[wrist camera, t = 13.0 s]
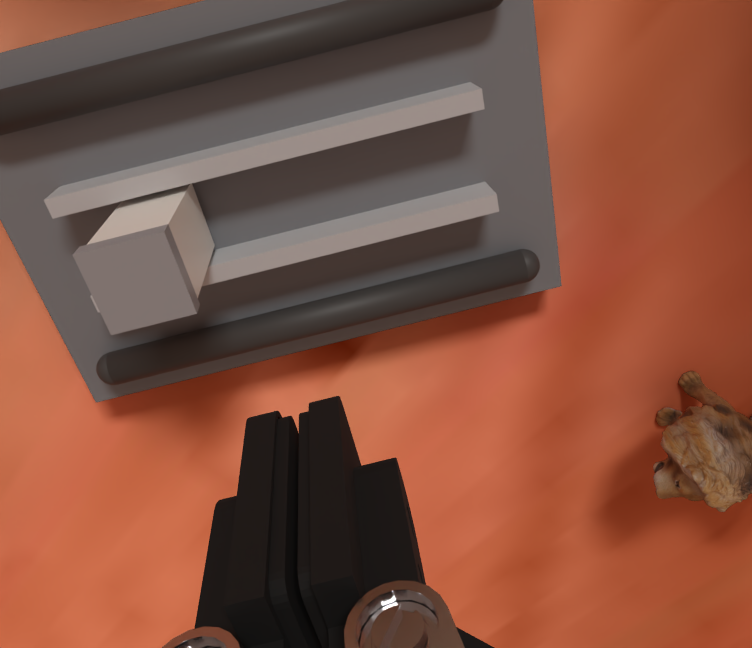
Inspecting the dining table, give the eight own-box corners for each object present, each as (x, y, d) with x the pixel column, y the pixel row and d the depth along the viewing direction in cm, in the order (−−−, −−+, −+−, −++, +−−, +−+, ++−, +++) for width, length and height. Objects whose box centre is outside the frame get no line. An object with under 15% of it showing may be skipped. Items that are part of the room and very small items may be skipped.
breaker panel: (509, -78, 27) (541, -87, 24) (548, 270, 35) (576, 303, 31) (-53, 67, 27) (-105, 79, 24) (106, 381, 35) (84, 426, 31)
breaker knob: (192, 178, 28) (164, 231, 22) (217, 246, 30) (197, 313, 24) (120, 197, 28) (72, 254, 22) (149, 264, 30) (111, 335, 24)
